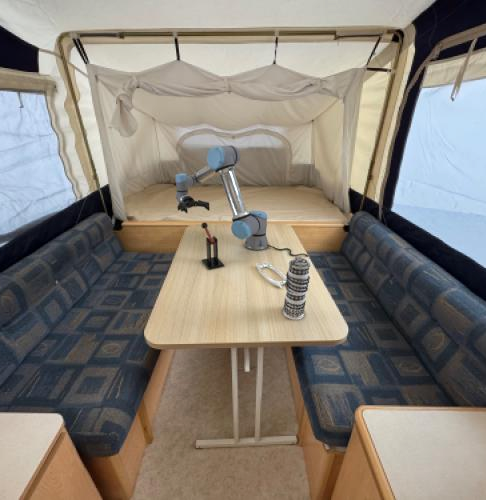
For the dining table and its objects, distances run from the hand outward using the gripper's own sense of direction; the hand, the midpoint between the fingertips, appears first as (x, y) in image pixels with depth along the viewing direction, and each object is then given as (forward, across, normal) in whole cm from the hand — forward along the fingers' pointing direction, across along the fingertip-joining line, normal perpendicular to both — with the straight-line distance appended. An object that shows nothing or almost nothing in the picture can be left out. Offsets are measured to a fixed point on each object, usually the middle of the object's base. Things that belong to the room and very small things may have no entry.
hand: (198, 209), depth 156 cm
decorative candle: (+76, -14, -26) cm, 82 cm away
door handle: (+46, -23, -26) cm, 58 cm away
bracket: (+20, 0, -26) cm, 33 cm away
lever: (+14, 0, -11) cm, 18 cm away
